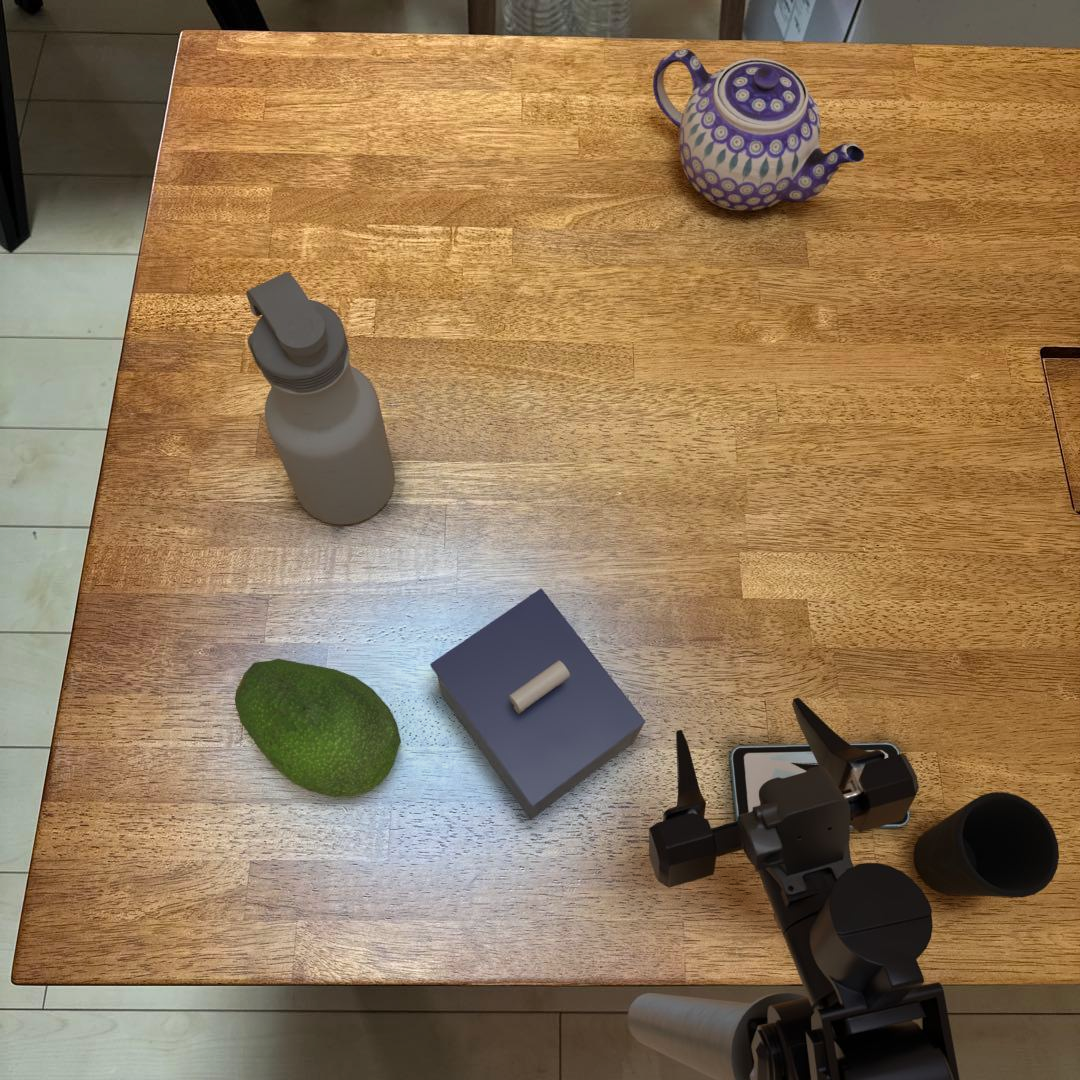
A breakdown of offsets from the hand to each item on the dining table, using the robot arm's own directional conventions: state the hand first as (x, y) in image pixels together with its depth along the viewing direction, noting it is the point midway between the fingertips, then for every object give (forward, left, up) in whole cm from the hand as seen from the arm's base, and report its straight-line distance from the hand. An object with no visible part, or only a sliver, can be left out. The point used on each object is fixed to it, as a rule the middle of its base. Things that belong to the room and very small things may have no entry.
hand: (737, 716), depth 76 cm
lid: (+5, +14, -9) cm, 18 cm away
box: (+5, +14, -15) cm, 22 cm away
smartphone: (-3, -10, -16) cm, 19 cm away
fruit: (+5, +33, -16) cm, 37 cm away
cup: (-10, -20, -16) cm, 27 cm away
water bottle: (+30, +31, -16) cm, 46 cm away
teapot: (+66, -14, -16) cm, 69 cm away
